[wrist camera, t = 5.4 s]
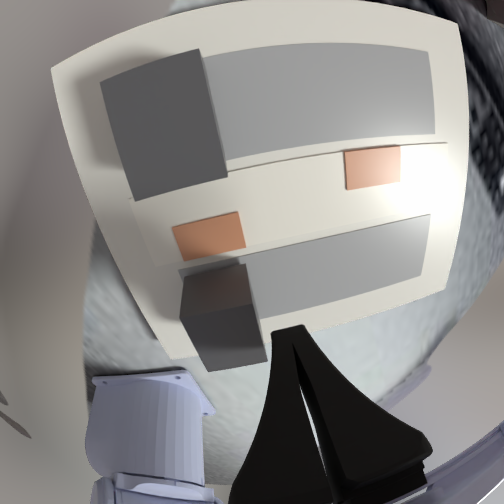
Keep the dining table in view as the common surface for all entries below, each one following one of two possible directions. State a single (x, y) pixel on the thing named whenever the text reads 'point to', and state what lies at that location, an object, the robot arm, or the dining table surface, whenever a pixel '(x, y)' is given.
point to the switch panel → (290, 160)
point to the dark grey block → (222, 318)
